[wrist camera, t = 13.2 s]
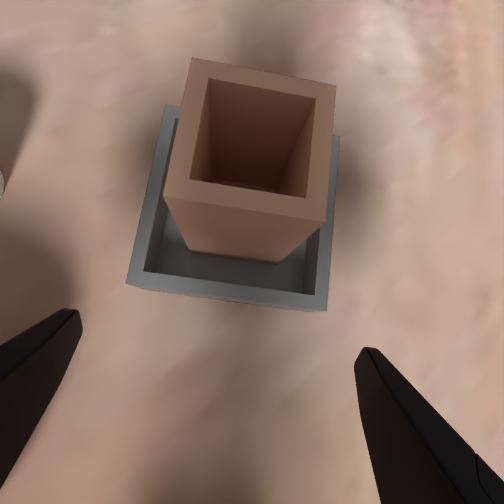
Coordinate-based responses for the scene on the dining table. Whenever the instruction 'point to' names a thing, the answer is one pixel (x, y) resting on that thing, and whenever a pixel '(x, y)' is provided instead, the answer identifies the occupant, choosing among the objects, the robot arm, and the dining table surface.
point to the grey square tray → (224, 269)
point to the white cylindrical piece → (1, 184)
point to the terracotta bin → (250, 162)
